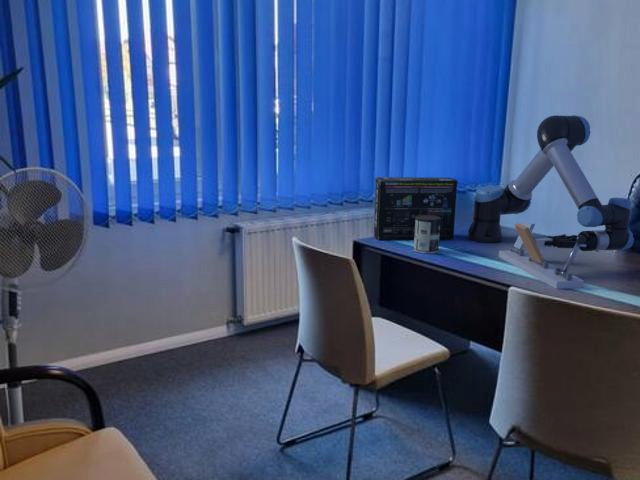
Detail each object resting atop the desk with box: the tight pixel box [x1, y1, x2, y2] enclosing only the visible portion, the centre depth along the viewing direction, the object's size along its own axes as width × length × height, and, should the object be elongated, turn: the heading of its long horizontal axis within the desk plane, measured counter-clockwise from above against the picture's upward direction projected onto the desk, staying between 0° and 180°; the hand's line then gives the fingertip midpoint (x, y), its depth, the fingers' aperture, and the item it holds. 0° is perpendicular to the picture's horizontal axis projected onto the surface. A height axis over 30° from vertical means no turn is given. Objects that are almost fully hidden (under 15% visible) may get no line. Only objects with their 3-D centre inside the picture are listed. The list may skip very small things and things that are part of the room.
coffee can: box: [413, 215, 441, 255], centre depth 227 cm, size 10×10×14 cm
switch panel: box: [498, 244, 585, 290], centre depth 204 cm, size 10×39×5 cm, turn 11°
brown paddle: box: [514, 222, 546, 266], centre depth 201 cm, size 2×8×17 cm
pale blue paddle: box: [512, 220, 536, 254], centre depth 217 cm, size 2×5×13 cm, turn 11°
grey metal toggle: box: [556, 235, 585, 278], centre depth 188 cm, size 3×5×15 cm, turn 11°
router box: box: [373, 176, 459, 241], centre depth 247 cm, size 36×11×27 cm, turn 96°
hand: (535, 242), depth 200 cm, fingers closed
